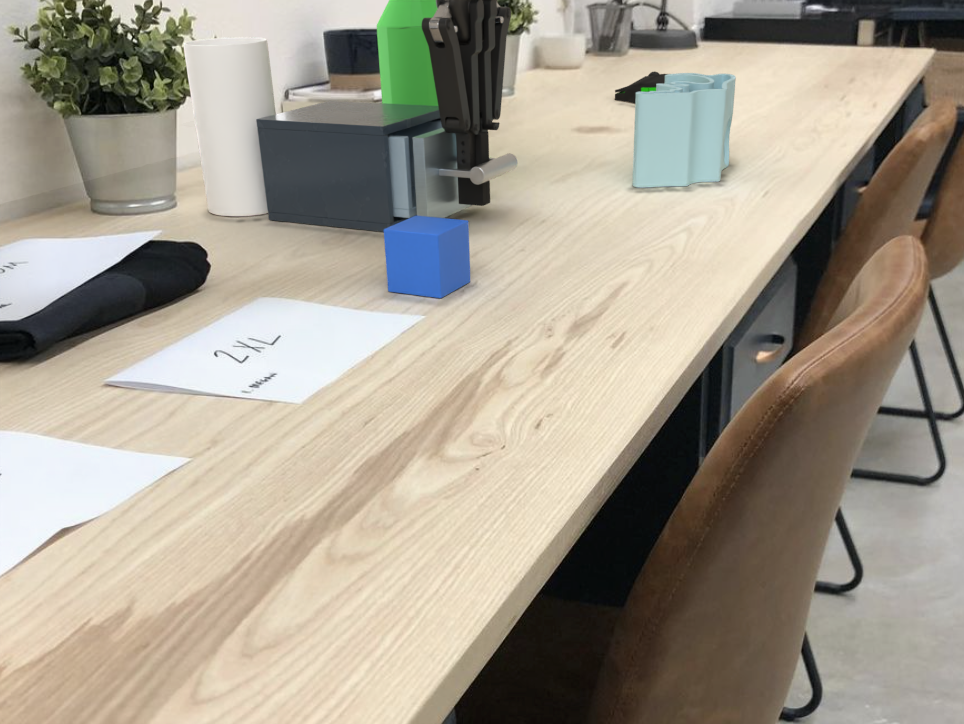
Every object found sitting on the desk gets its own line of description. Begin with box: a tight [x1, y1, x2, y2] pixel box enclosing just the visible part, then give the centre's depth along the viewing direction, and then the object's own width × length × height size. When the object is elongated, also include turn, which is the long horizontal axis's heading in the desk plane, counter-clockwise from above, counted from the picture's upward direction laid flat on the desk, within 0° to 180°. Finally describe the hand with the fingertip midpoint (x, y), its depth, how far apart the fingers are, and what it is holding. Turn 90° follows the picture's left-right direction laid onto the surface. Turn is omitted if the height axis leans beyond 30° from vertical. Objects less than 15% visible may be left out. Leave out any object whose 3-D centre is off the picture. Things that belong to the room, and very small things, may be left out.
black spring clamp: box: [614, 71, 668, 104], centre depth 174 cm, size 11×16×4 cm
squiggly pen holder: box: [631, 72, 737, 189], centre depth 125 cm, size 18×10×9 cm, turn 166°
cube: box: [383, 216, 471, 299], centre depth 90 cm, size 5×5×5 cm
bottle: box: [376, 0, 438, 106], centre depth 128 cm, size 9×9×25 cm
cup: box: [183, 36, 277, 217], centre depth 114 cm, size 8×8×16 cm
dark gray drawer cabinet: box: [256, 100, 441, 233], centre depth 112 cm, size 15×13×10 cm
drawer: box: [387, 120, 519, 218], centre depth 109 cm, size 18×11×8 cm, turn 62°
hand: (474, 203), depth 108 cm, fingers closed
